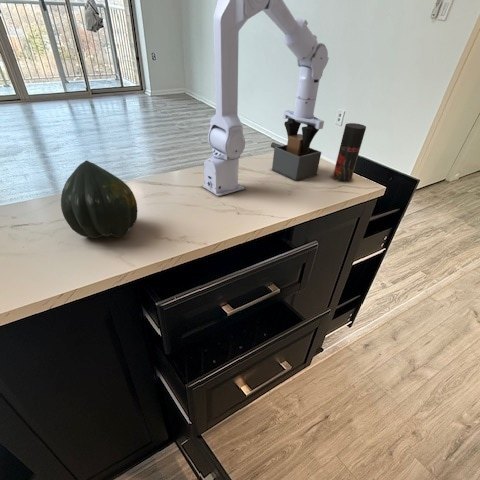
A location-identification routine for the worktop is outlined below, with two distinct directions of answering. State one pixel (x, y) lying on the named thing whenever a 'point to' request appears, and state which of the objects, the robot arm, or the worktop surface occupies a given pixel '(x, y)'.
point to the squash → (98, 202)
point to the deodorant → (348, 151)
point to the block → (295, 145)
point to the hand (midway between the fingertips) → (297, 149)
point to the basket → (295, 163)
